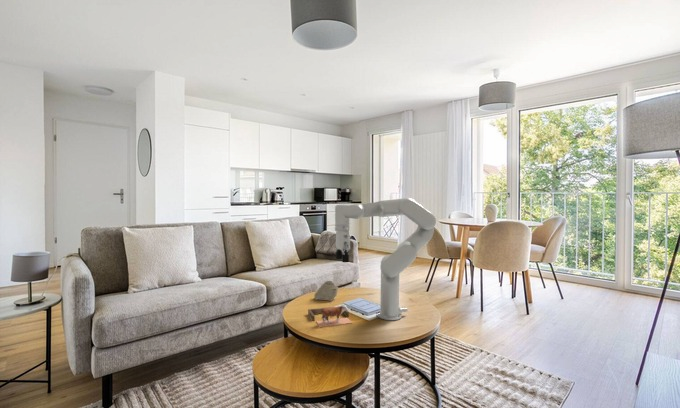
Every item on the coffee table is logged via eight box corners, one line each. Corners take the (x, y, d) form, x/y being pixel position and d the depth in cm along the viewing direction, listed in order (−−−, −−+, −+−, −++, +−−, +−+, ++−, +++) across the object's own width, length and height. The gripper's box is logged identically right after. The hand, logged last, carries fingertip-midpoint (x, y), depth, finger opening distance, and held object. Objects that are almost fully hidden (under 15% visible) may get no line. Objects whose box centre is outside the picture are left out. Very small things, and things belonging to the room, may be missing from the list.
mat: (347, 318, 162) (347, 317, 162) (351, 323, 156) (351, 322, 156) (316, 321, 157) (316, 321, 157) (319, 327, 151) (319, 326, 151)
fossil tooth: (315, 299, 197) (339, 298, 195) (313, 302, 190) (338, 300, 189) (314, 280, 197) (338, 279, 196) (312, 282, 191) (337, 281, 189)
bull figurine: (348, 321, 157) (348, 305, 157) (322, 324, 153) (322, 307, 152) (345, 318, 161) (345, 302, 161) (319, 321, 157) (319, 304, 157)
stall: (342, 310, 174) (342, 305, 174) (348, 316, 164) (348, 312, 164) (308, 314, 168) (308, 309, 168) (312, 321, 158) (312, 316, 158)
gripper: (355, 229, 162) (355, 263, 162) (343, 226, 178) (343, 257, 179) (341, 229, 160) (341, 264, 160) (330, 226, 176) (330, 258, 176)
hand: (342, 260), depth 169 cm, fingers open, 9 cm apart
